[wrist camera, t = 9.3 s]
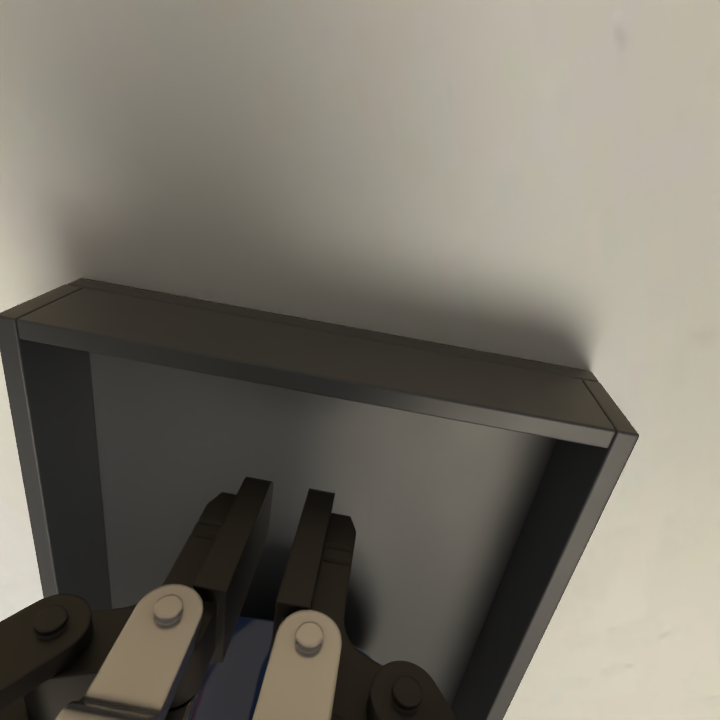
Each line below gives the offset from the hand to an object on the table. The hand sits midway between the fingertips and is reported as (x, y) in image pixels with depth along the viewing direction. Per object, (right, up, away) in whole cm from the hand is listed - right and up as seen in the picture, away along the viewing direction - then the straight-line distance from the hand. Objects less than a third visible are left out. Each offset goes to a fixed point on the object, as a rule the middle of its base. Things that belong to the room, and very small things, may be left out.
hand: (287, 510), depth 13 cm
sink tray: (-1, -7, +9) cm, 12 cm away
